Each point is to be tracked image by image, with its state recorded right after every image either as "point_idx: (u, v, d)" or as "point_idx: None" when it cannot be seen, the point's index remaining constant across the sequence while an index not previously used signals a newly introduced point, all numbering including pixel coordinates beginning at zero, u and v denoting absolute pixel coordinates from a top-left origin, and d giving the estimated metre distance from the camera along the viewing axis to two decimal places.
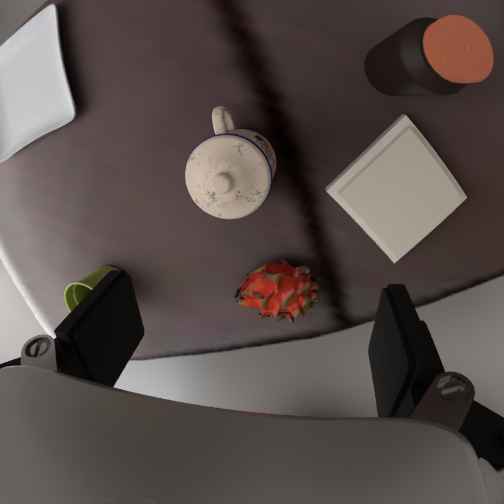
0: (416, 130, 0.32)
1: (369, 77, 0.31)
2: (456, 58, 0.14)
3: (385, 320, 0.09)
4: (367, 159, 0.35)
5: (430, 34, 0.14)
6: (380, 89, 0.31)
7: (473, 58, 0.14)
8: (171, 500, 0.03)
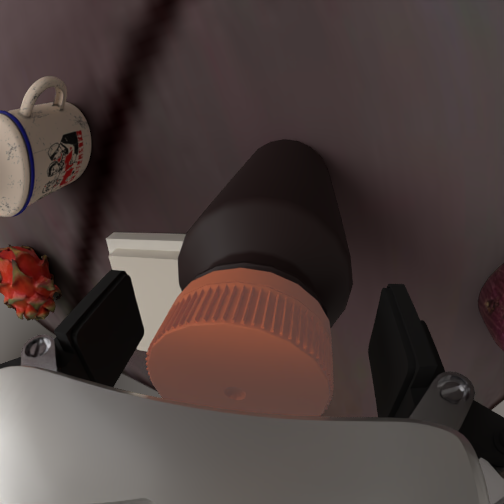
0: None
1: None
2: (186, 387, 0.08)
3: (385, 320, 0.09)
4: (165, 248, 0.28)
5: (195, 298, 0.08)
6: None
7: None
8: (171, 500, 0.03)
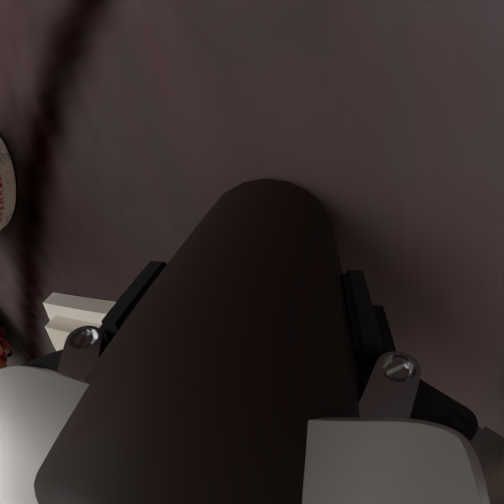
0: None
1: None
2: None
3: None
4: None
5: None
6: None
7: None
8: None
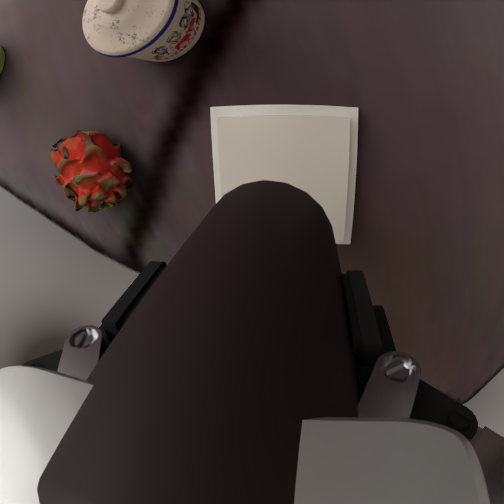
0: (355, 131, 0.27)
1: None
2: None
3: None
4: (277, 112, 0.28)
5: None
6: None
7: None
8: None
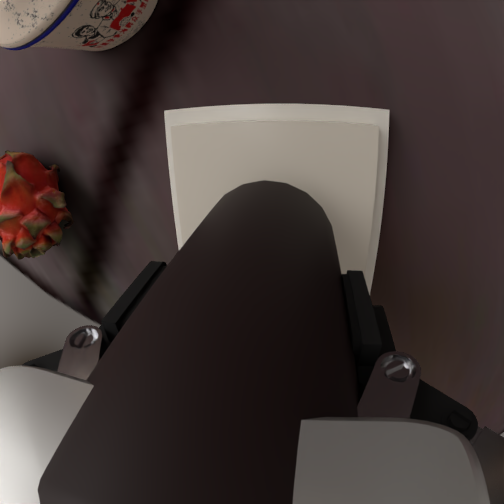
0: (384, 145, 0.17)
1: None
2: None
3: None
4: (265, 115, 0.18)
5: None
6: None
7: None
8: None
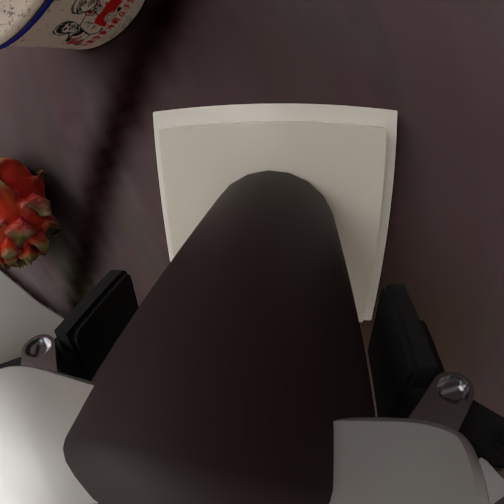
0: (391, 150, 0.16)
1: None
2: None
3: (385, 320, 0.09)
4: (261, 116, 0.16)
5: None
6: None
7: None
8: None
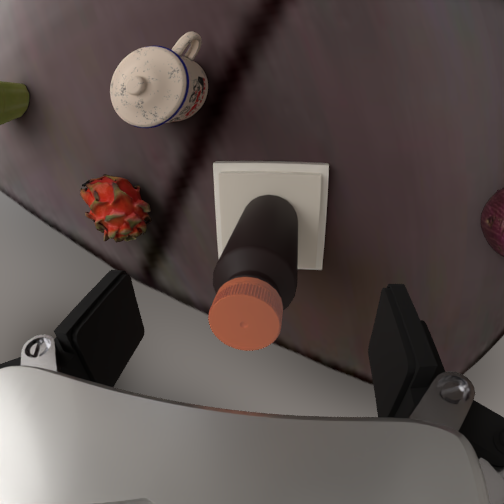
0: (326, 183, 0.37)
1: None
2: (224, 323, 0.21)
3: (385, 320, 0.09)
4: (265, 169, 0.37)
5: (229, 288, 0.21)
6: None
7: (243, 334, 0.21)
8: (171, 500, 0.03)
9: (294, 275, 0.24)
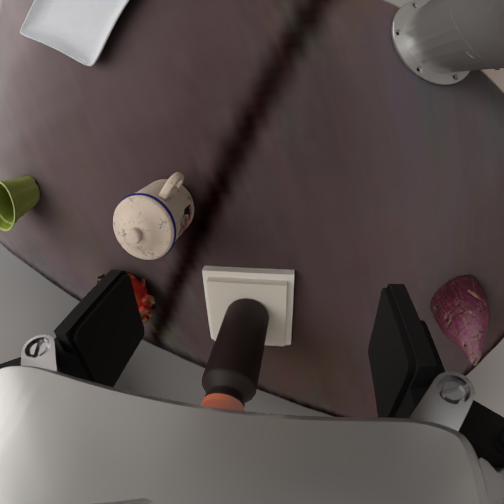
0: (292, 287, 0.48)
1: (225, 313, 0.48)
2: None
3: (385, 320, 0.09)
4: (243, 276, 0.48)
5: (210, 400, 0.32)
6: None
7: None
8: (171, 500, 0.03)
9: (253, 384, 0.35)
